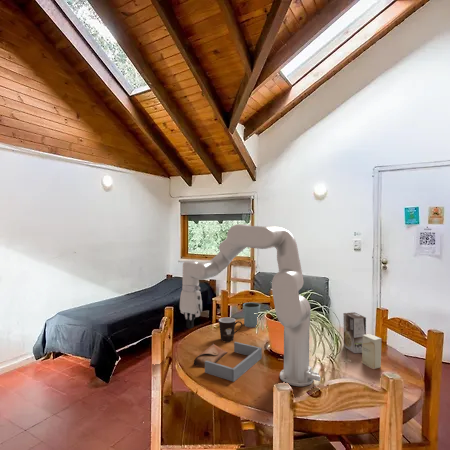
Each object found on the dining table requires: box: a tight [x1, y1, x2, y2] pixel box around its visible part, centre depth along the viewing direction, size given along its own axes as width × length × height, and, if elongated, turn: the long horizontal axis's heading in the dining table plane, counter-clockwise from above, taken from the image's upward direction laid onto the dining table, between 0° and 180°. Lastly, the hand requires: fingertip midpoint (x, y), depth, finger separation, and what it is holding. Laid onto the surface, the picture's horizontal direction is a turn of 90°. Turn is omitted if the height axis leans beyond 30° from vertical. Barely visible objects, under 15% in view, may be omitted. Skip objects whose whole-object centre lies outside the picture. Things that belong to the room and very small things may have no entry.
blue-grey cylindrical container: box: [242, 301, 261, 328], centre depth 180 cm, size 10×10×12 cm
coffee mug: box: [218, 316, 243, 343], centre depth 158 cm, size 12×9×10 cm
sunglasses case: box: [193, 342, 228, 368], centre depth 136 cm, size 18×7×7 cm
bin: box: [204, 341, 263, 382], centre depth 129 cm, size 14×24×4 cm, turn 148°
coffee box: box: [343, 311, 367, 354], centre depth 145 cm, size 9×6×16 cm
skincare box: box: [361, 333, 382, 370], centre depth 129 cm, size 6×4×12 cm
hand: (190, 327), depth 142 cm, fingers closed
